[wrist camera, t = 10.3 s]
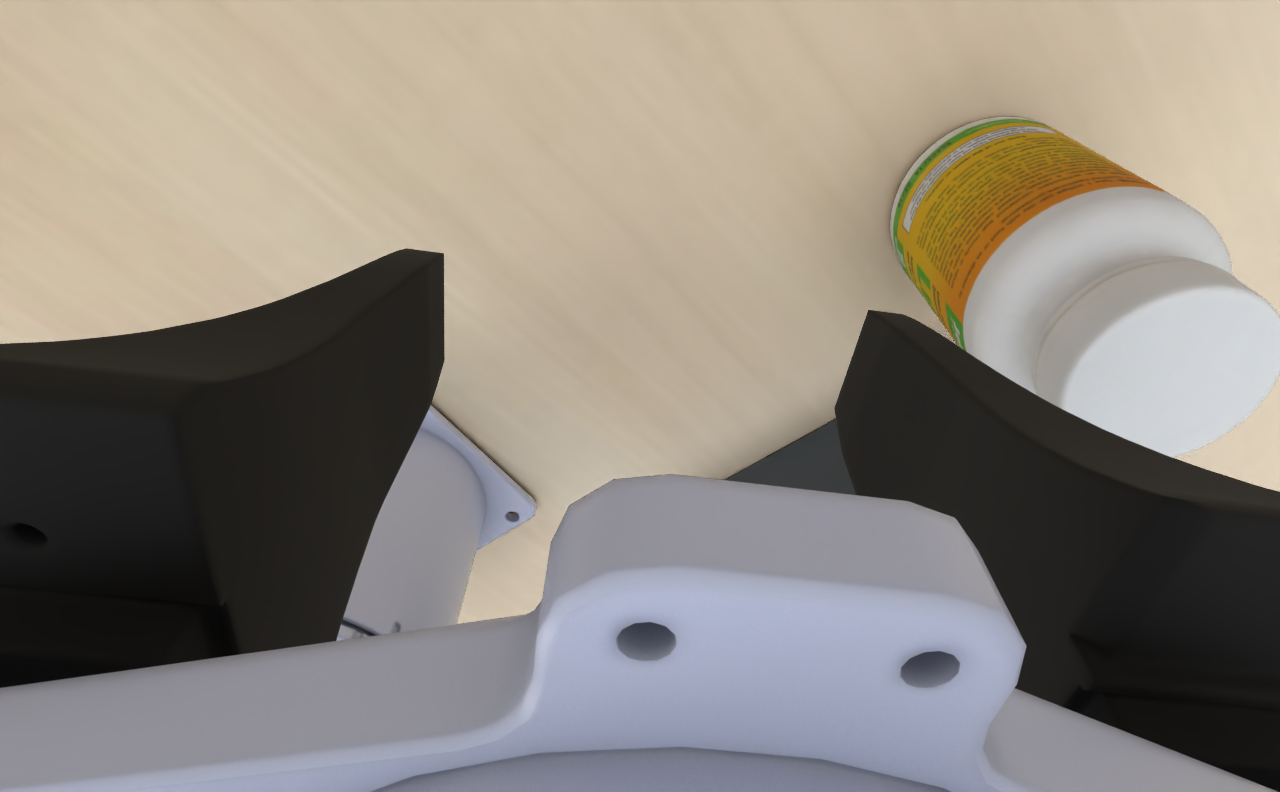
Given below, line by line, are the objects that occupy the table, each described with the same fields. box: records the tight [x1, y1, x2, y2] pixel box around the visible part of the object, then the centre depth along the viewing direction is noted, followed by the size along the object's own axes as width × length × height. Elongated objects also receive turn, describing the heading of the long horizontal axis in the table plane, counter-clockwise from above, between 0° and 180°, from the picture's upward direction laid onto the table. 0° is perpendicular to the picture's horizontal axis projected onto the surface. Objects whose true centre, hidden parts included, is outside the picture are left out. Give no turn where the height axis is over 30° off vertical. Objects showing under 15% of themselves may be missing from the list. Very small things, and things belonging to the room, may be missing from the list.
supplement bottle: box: [890, 117, 1280, 458], centre depth 18 cm, size 5×5×10 cm
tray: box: [726, 419, 856, 495], centre depth 28 cm, size 13×13×4 cm
